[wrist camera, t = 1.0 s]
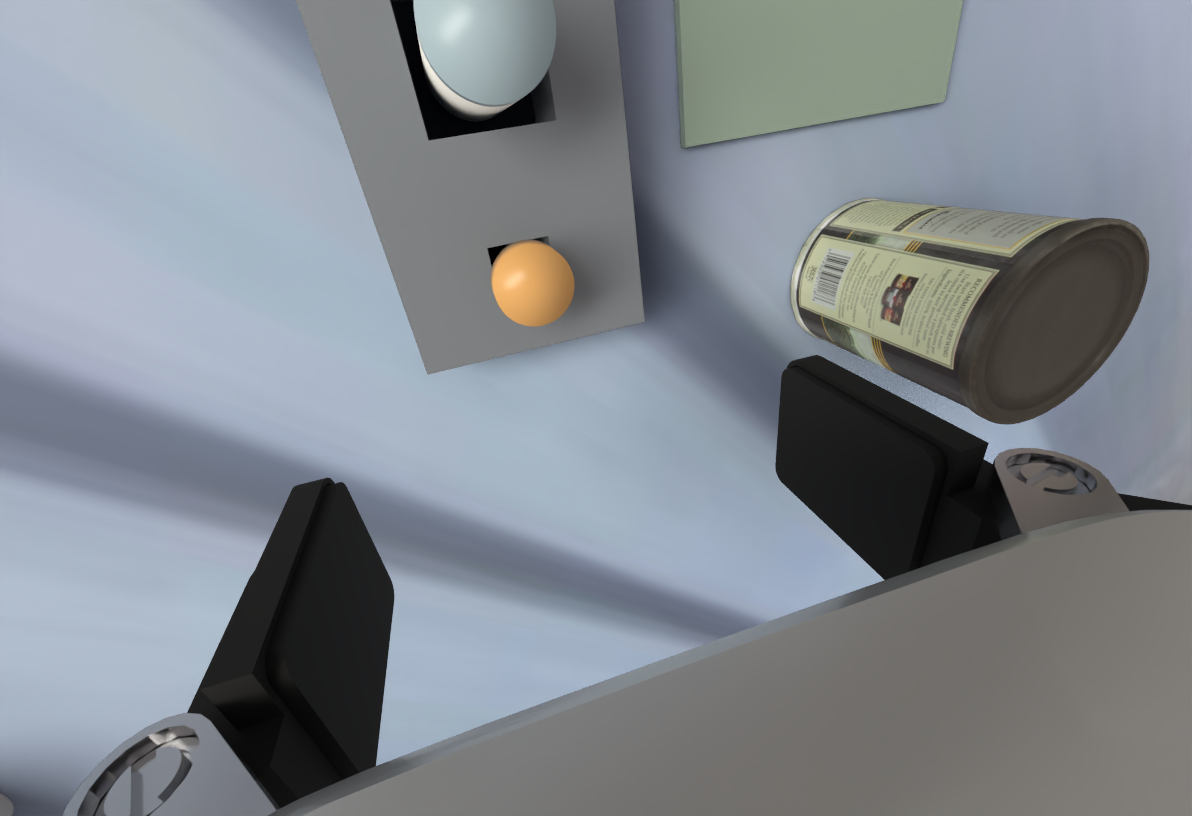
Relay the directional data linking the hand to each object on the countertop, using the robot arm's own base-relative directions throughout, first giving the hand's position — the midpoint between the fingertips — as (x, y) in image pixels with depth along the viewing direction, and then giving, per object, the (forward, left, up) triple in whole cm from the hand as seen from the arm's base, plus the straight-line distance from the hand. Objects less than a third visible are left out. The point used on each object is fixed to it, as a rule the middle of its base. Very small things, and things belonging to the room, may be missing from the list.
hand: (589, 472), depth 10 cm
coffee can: (+5, +25, -21) cm, 34 cm away
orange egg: (-1, +1, -19) cm, 19 cm away
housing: (-6, +1, -21) cm, 22 cm away
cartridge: (-10, +1, -21) cm, 23 cm away
